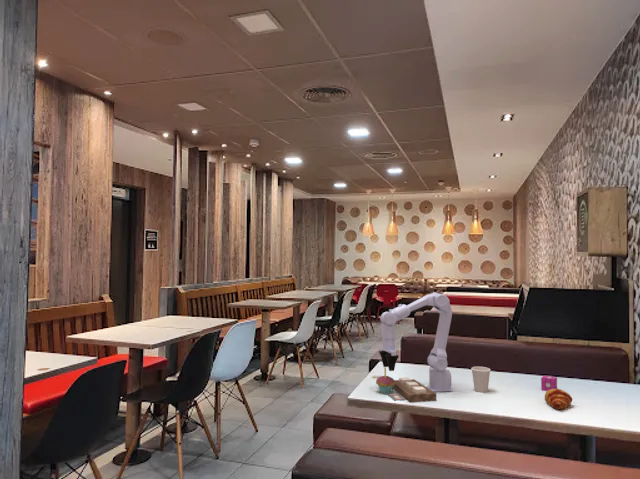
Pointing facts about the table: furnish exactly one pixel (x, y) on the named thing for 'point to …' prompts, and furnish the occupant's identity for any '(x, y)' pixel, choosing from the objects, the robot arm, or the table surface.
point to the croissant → (558, 398)
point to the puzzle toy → (548, 383)
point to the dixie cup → (481, 378)
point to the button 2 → (418, 390)
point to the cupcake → (385, 383)
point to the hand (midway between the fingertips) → (388, 368)
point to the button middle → (411, 384)
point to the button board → (411, 395)
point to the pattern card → (396, 397)
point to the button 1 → (404, 380)
